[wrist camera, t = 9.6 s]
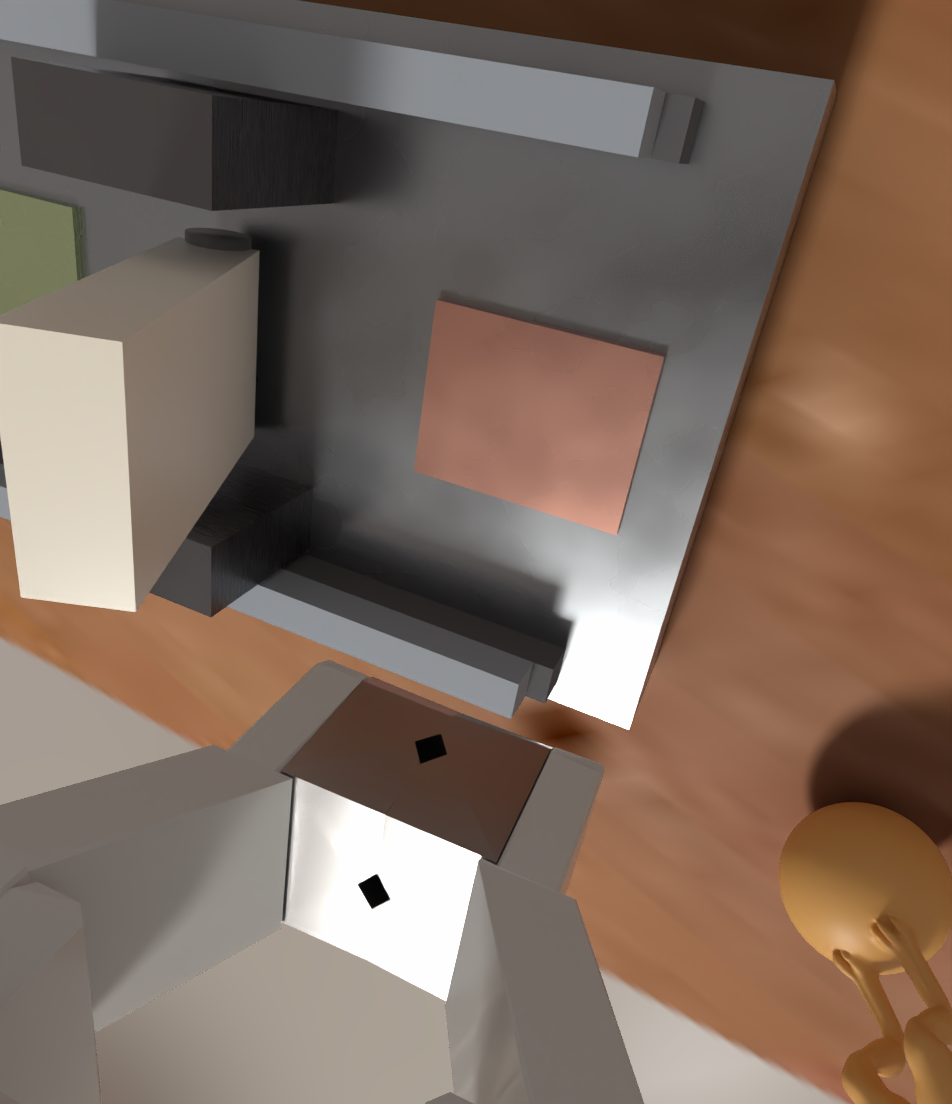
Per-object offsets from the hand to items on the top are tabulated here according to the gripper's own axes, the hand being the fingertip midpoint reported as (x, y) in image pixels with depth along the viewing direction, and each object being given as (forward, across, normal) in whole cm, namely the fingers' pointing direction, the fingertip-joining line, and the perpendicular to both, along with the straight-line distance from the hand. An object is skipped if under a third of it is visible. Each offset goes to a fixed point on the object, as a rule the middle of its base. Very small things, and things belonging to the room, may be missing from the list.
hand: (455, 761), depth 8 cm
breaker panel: (+14, +10, 0) cm, 17 cm away
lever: (+10, +10, 0) cm, 14 cm away
